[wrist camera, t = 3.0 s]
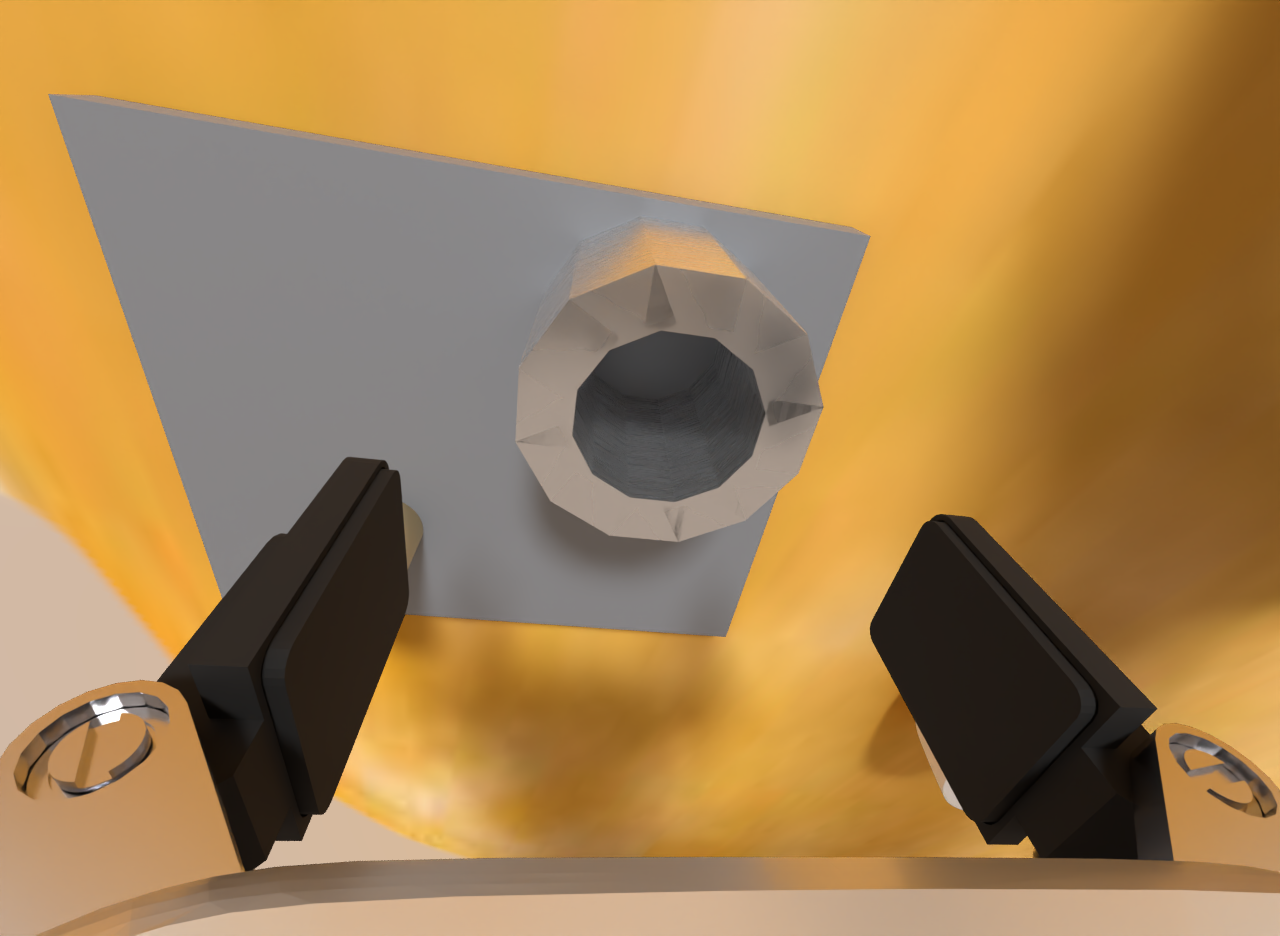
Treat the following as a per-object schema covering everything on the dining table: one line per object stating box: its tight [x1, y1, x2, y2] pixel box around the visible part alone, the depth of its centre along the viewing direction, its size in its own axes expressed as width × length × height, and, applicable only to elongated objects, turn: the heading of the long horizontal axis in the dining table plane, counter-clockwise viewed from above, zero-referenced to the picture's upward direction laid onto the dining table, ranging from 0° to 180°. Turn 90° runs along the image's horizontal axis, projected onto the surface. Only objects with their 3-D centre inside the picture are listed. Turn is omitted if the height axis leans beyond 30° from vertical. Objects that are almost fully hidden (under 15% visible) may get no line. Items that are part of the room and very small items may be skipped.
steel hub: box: [515, 216, 823, 542], centre depth 15 cm, size 7×7×6 cm
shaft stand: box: [48, 94, 870, 637], centre depth 18 cm, size 22×18×7 cm
